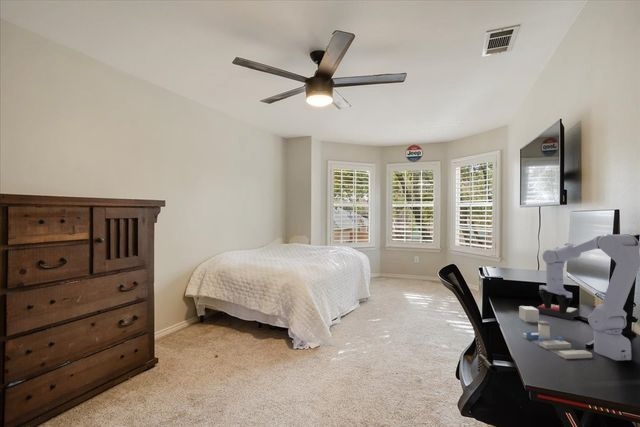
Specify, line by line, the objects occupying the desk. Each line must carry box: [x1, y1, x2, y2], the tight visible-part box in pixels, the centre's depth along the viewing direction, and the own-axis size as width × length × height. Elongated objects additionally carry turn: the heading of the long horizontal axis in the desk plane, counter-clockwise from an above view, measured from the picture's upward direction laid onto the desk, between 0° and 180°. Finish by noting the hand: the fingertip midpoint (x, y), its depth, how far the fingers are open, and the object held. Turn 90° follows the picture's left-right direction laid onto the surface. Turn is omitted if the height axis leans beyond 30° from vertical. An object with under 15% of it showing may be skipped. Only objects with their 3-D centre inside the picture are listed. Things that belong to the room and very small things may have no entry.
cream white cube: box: [518, 305, 540, 323], centre depth 152 cm, size 6×6×6 cm
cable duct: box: [522, 331, 593, 360], centre depth 117 cm, size 20×10×4 cm, turn 5°
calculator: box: [536, 303, 580, 321], centre depth 161 cm, size 11×4×15 cm
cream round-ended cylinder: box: [537, 320, 551, 340], centre depth 123 cm, size 4×4×8 cm
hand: (555, 310), depth 132 cm, fingers open, 7 cm apart
